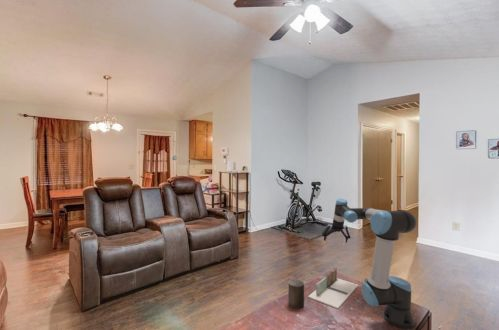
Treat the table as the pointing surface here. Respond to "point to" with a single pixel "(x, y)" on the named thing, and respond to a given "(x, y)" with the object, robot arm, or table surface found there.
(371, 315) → the table surface
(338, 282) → the board
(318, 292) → the fence gate
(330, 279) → the fence fixed
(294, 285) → the pillar candle
